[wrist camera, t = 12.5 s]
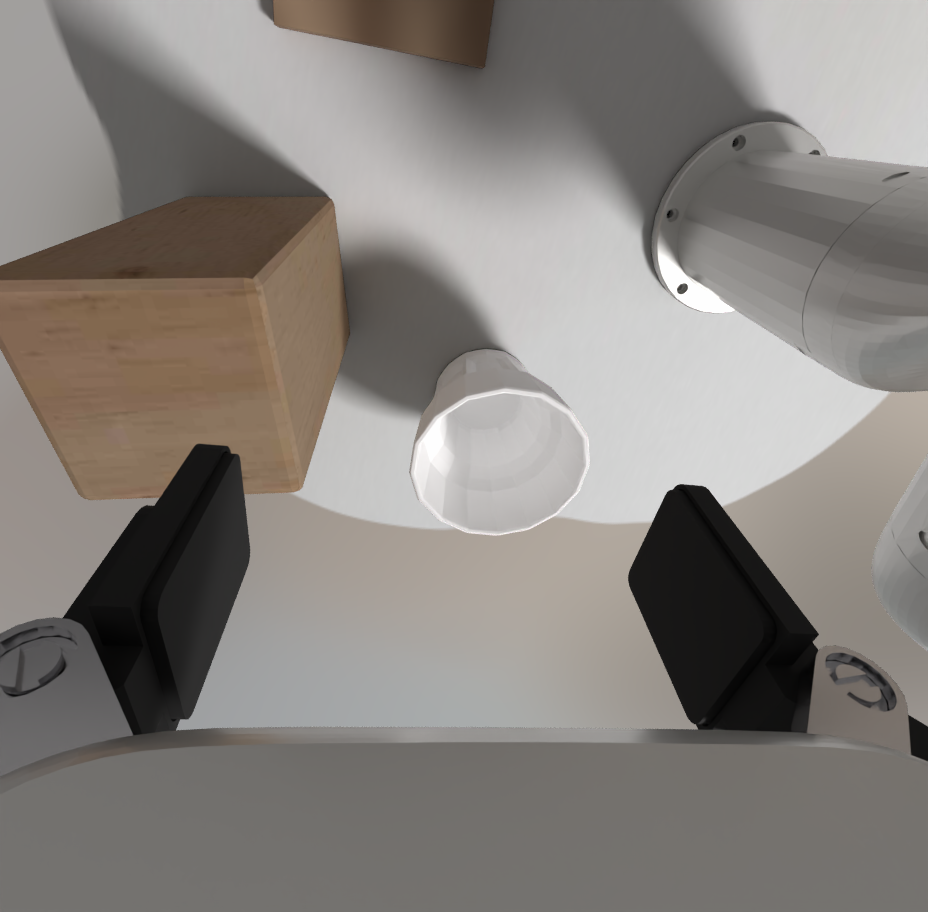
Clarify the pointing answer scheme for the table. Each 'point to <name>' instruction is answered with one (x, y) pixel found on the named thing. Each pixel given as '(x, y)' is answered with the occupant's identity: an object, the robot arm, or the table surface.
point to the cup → (496, 447)
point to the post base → (397, 25)
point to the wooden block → (182, 341)
